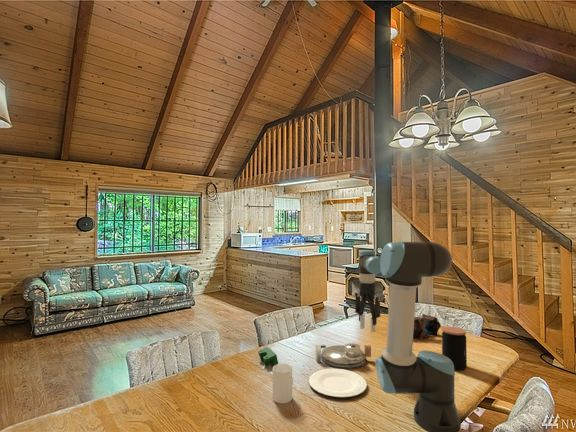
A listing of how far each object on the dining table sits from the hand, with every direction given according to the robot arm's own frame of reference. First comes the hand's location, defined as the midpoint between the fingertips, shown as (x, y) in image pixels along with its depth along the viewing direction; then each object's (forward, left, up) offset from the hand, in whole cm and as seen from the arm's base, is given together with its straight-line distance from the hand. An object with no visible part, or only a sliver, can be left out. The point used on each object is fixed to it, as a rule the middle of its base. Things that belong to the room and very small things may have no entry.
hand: (367, 329), depth 155 cm
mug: (-47, +10, -19) cm, 52 cm away
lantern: (+63, +6, -19) cm, 66 cm away
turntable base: (0, +15, -19) cm, 24 cm away
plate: (-23, 0, -19) cm, 30 cm away
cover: (0, +9, -16) cm, 18 cm away
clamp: (-32, +38, -19) cm, 53 cm away
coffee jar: (+34, -27, -19) cm, 47 cm away
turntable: (+1, +14, -17) cm, 22 cm away
